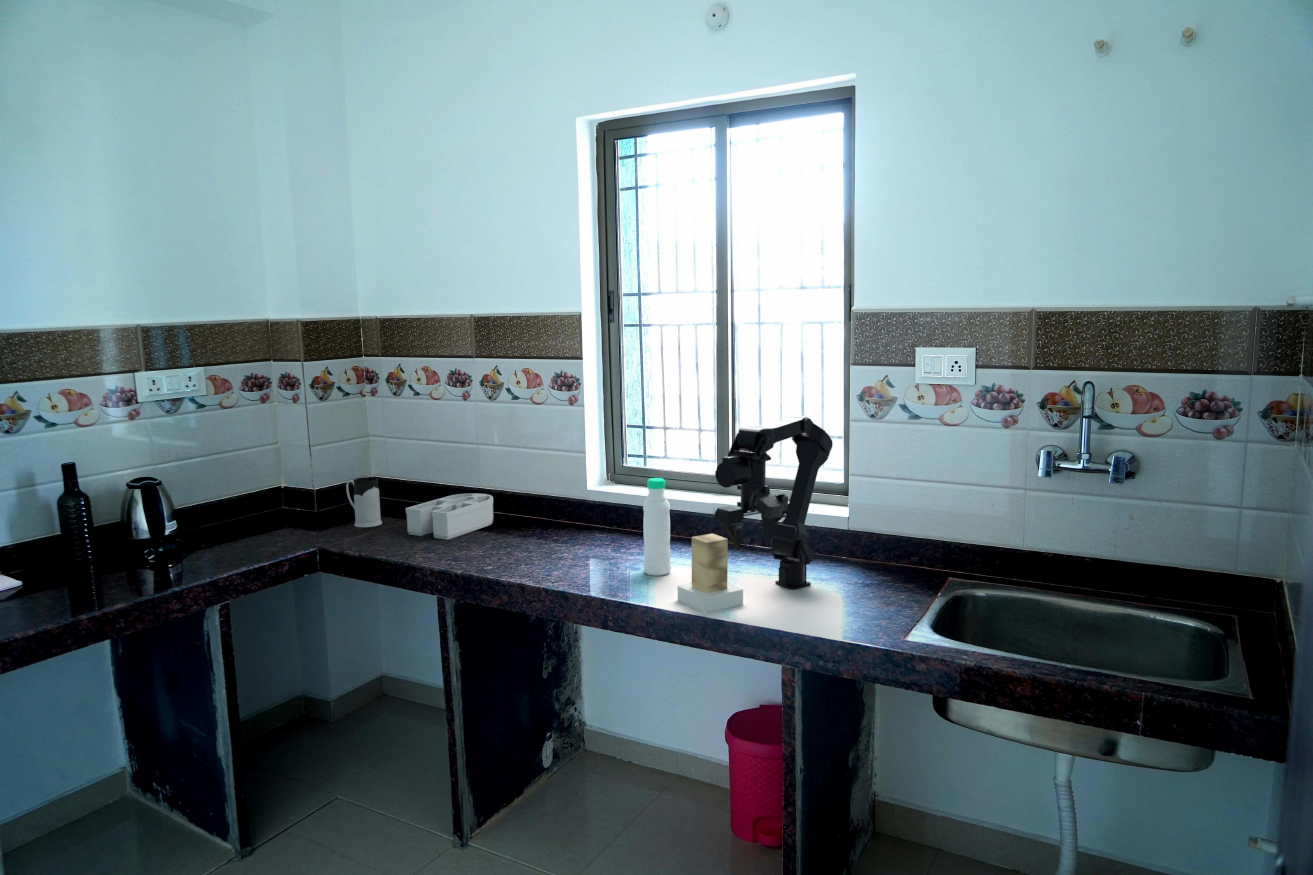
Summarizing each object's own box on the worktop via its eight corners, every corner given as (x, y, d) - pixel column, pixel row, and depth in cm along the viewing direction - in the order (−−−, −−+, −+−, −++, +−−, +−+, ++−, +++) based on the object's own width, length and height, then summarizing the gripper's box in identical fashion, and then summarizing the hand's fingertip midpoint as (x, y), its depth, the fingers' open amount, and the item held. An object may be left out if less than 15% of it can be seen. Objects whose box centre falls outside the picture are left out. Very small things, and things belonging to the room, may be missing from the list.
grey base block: (715, 593, 215) (715, 577, 214) (742, 605, 206) (742, 589, 205) (677, 601, 209) (677, 585, 208) (704, 614, 200) (704, 597, 199)
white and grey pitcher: (366, 528, 283) (363, 482, 281) (337, 523, 291) (335, 478, 289) (387, 522, 290) (385, 478, 288) (359, 517, 298) (357, 474, 296)
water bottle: (672, 575, 228) (672, 480, 225) (646, 577, 227) (644, 482, 224) (668, 567, 235) (667, 476, 232) (642, 569, 234) (640, 477, 231)
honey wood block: (712, 582, 211) (712, 533, 209) (727, 588, 206) (727, 538, 204) (691, 586, 207) (691, 536, 206) (706, 593, 202) (706, 542, 201)
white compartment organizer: (406, 535, 275) (405, 508, 274) (464, 516, 300) (463, 491, 298) (447, 541, 267) (446, 513, 266) (504, 521, 292) (503, 495, 291)
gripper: (745, 491, 192) (744, 560, 194) (806, 481, 203) (805, 547, 205) (713, 483, 201) (713, 550, 204) (773, 474, 212) (773, 537, 214)
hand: (752, 546), depth 206 cm, fingers open, 9 cm apart
